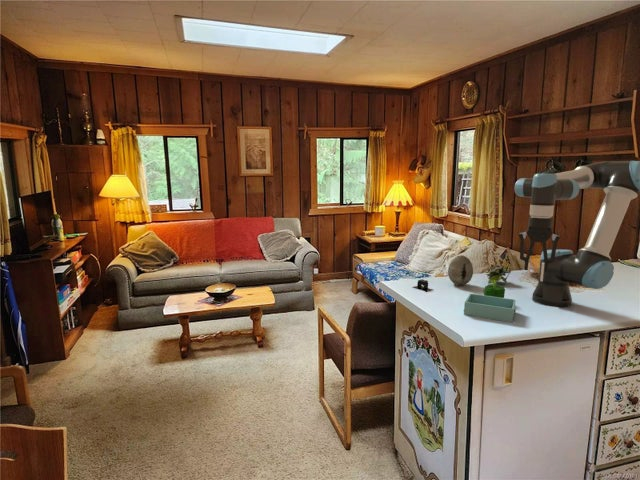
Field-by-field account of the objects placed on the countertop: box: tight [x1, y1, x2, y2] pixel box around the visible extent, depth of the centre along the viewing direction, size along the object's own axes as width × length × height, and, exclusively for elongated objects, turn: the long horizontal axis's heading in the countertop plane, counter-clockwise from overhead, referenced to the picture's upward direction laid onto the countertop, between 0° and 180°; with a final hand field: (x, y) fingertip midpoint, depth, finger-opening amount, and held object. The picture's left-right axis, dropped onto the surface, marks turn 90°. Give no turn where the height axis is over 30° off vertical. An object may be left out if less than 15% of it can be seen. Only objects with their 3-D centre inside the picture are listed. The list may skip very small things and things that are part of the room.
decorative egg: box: [447, 254, 474, 286], centre depth 204 cm, size 12×12×15 cm
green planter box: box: [463, 292, 516, 323], centre depth 162 cm, size 18×13×5 cm
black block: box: [411, 278, 434, 293], centre depth 199 cm, size 12×7×5 cm, turn 36°
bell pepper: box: [483, 280, 506, 298], centre depth 176 cm, size 8×8×10 cm
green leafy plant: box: [485, 264, 512, 287], centre depth 208 cm, size 11×11×12 cm
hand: (534, 279), depth 153 cm, fingers open, 4 cm apart
